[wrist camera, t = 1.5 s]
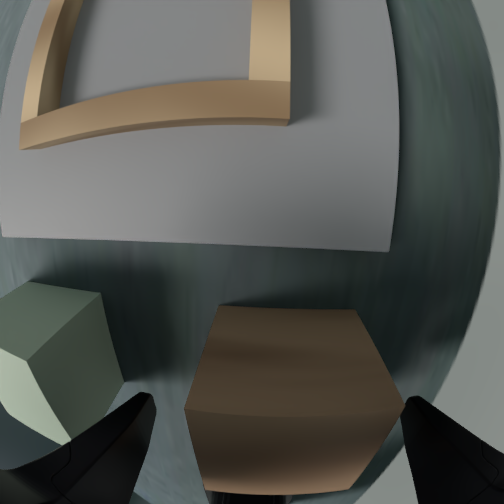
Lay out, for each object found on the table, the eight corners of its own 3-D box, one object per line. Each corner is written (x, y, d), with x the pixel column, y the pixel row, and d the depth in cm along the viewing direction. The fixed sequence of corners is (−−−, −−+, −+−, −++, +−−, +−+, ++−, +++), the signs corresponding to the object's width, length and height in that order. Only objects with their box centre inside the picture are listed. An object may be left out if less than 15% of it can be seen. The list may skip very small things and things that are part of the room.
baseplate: (379, 245, 9) (405, 264, 7) (13, 232, 9) (-15, 244, 7) (354, -75, 4) (363, -96, 2) (57, -33, 5) (40, -44, 3)
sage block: (124, 381, 11) (82, 454, 7) (54, 360, 12) (8, 413, 7) (101, 292, 10) (26, 361, 5) (29, 280, 10) (-38, 325, 5)
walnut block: (330, 399, 11) (348, 489, 6) (222, 397, 11) (205, 489, 7) (354, 308, 10) (405, 405, 5) (219, 304, 10) (184, 408, 5)
